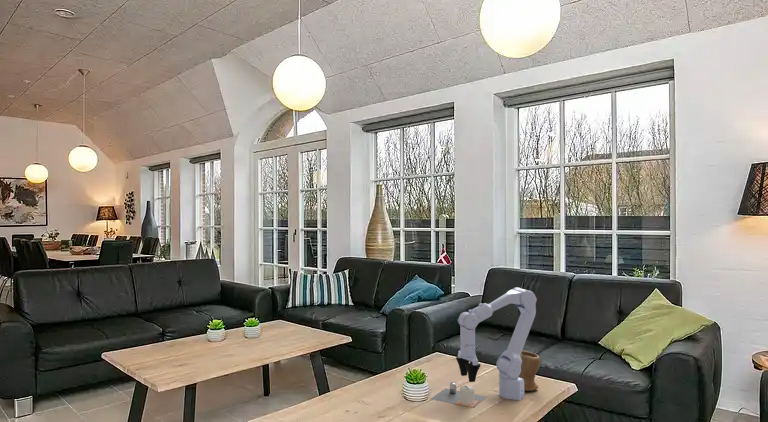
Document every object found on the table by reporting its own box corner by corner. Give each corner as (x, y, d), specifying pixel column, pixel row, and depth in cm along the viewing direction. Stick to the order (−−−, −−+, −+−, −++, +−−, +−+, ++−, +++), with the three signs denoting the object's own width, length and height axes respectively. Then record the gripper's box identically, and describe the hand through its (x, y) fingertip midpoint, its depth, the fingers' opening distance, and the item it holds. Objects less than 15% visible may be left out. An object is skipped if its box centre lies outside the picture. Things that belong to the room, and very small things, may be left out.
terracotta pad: (479, 401, 196) (479, 401, 196) (472, 407, 190) (472, 406, 190) (462, 398, 200) (462, 397, 200) (455, 404, 194) (455, 403, 194)
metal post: (457, 392, 206) (457, 382, 206) (454, 394, 204) (454, 384, 204) (451, 391, 207) (451, 381, 207) (448, 393, 205) (448, 383, 205)
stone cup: (546, 390, 212) (546, 354, 212) (521, 394, 208) (521, 357, 208) (524, 379, 226) (524, 345, 226) (501, 382, 222) (501, 348, 222)
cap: (475, 403, 193) (475, 388, 193) (463, 405, 192) (463, 390, 192) (470, 399, 198) (470, 384, 198) (458, 400, 197) (458, 385, 197)
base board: (486, 399, 202) (486, 396, 202) (473, 411, 190) (473, 408, 190) (445, 391, 211) (445, 388, 211) (430, 401, 199) (430, 398, 199)
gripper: (451, 339, 205) (451, 373, 205) (465, 349, 191) (466, 385, 191) (467, 338, 206) (467, 372, 206) (483, 347, 192) (483, 383, 192)
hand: (467, 378), depth 199 cm, fingers open, 7 cm apart
